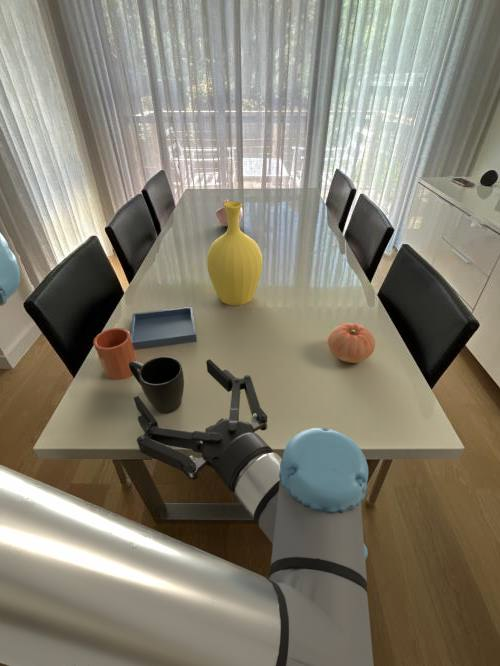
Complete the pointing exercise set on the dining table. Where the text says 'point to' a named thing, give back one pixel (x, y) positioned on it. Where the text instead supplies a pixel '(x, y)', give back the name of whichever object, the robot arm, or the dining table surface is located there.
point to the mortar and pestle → (225, 215)
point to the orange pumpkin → (351, 342)
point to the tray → (163, 328)
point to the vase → (234, 261)
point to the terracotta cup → (115, 352)
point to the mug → (160, 382)
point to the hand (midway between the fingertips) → (175, 382)
